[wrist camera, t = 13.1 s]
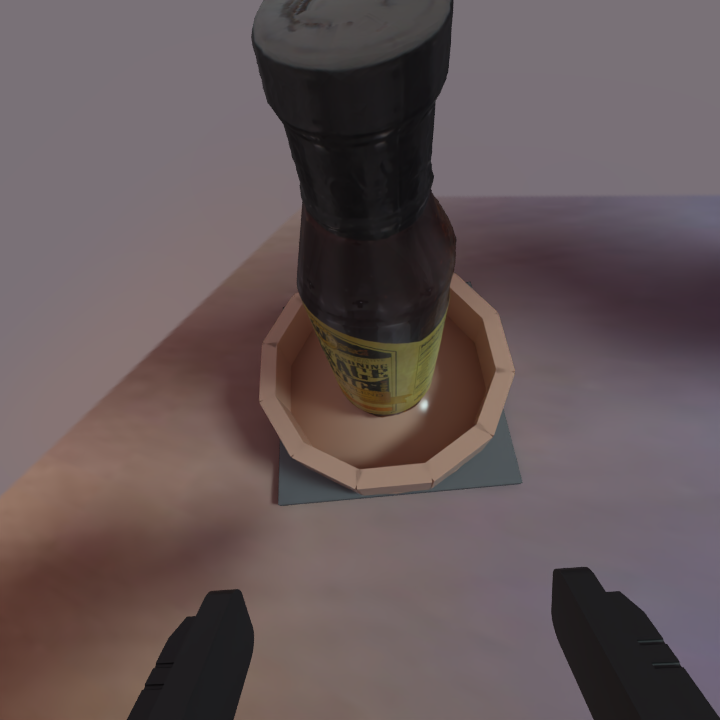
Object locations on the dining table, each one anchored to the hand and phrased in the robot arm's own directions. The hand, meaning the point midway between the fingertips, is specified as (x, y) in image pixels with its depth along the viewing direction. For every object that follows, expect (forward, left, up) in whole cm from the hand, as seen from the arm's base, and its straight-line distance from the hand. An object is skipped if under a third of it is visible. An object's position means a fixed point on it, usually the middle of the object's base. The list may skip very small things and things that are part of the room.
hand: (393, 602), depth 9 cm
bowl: (0, -11, -13) cm, 17 cm away
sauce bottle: (0, -11, -12) cm, 16 cm away
